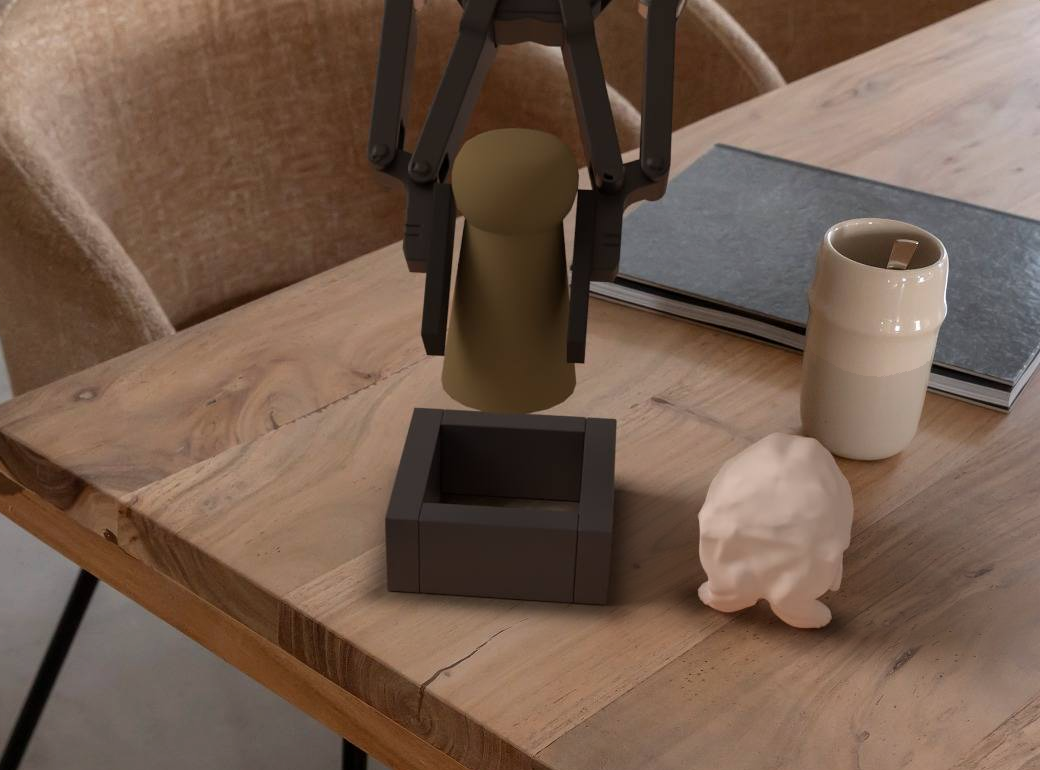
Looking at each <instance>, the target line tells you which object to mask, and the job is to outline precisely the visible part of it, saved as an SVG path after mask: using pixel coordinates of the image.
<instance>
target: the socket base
mask: <svg viewBox="0 0 1040 770" xmlns="http://www.w3.org/2000/svg"><path fill="white" fill-rule="evenodd" d="M617 422H618V421H617V419H616V418H607V417H591V416H588V417H586V416H575V415H574V416H573V415H559V414H558V415H556V414H555V415H554V414H540V413H539V414H537V413H529V414H508V415H506V414H497V413H488V412H483V411H480V410H467V409H466V410H465V409H449V408H448V409H446V408H445V409H444V408H432V407H431V408H430V407H427V408H426V407H414V408H413V411H412V415H411V417H410V421H409V427H408V430H407V434H406V438H405V441H404V444H403V449H402V452H401V457H400V460H399V464H398V467H397V470H396V471H397V472H396V474H395V479H394V482H393V486H392V490H391V494H390V498H389V501H388V505H387V509H386V513H385V516H384V532H385V535H384V536H385V567H386V569H385V570H386V590H387V591H390V592H404V593H423V594H425V593H426V594H437V595H450V596H451V595H452V596H469V597H481V598H496V599H511V600H527V601H540V602H554V603H555V602H557V603H572V604H573V603H574V604H587V605H603V606H604V605H605V606H606V605H607V602H608V591H609V590H608V589H609V578H610V565H611V552H612V541H613V524H614V502H615V501H614V500H615V499H614V497H615V478H616V477H615V476H616V475H615V474H616V448H617V425H618V423H617ZM441 493H442V494H456V495H470V496H471V495H472V496H474V495H475V496H489V497H504V498H505V497H506V498H520V499H522V498H523V499H539V500H555V501H571V502H572V501H573V502H579V508H578V511H569V510H568V511H567V510H552V509H535V508H534V509H533V508H519V507H502V506H489V505H486V506H485V505H472V504H457V503H456V504H455V503H441V502H440V500H441V499H440V498H441ZM439 502H440V503H439Z"/></svg>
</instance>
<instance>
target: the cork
mask: <svg viewBox="0 0 1040 770" xmlns="http://www.w3.org/2000/svg"><path fill="white" fill-rule="evenodd" d="M579 183H580V173H579V167H578V162H577V159H576V158H575V155H574V154H573V152H572V149H571V148H570V146H569V144H568V143H566V142H564V141H563V140H562V139H560V138H559V137H558V136H556V135H554V134H551V133H549V132H545V131H542V130H536V129H533V128H532V129H531V128H522V127H521V128H519V127H515V128H498V129H492V130H488V131H484V132H481V133H479V134H476V135H475V136H473V137H471V138H470V139H468V140H467V141H465V142H464V144H463V146H461V148H460V150H459V152H457V154H456V157H455V160H454V163H453V165H452V168H451V184H452V189H453V193H454V197H455V203H456V209H458V211H459V212H460V213H461V215H462V216H463V218H464V221H463V226H462V227H463V228H462V235H461V239H460V240H461V241H460V246H459V247H460V249H459V255H458V261H457V268H456V274H455V275H456V276H455V282H454V289H453V294H452V295H453V296H452V301H451V302H452V303H451V309H450V315H449V316H450V317H449V323H448V328H447V335H446V344H445V356H443V357H444V358H443V364H442V371H441V377H440V381H441V386H442V389H443V391H444V392H445V393H446V394H447V395H448V396H449V397H450V399H452V400H454V401H455V402H456V403H459V404H461V405H462V406H464V407H466V408H469V409H473V410H475V411H483V412H488V413H497V414H506V415H508V414H534V413H539V412H542V411H546V410H550V409H552V408H554V407H556V406H558V405H561V404H563V403H564V402H565V401H567V400H568V399H569V398H570V397H571V396H572V395H573V394H574V391H575V388H576V386H577V374H576V363H567V332H568V318H569V304H570V287H569V275H568V265H567V264H568V263H567V262H568V261H567V253H566V252H567V251H566V239H565V226H564V220H565V219H566V217H567V216H568V215H569V214H570V212H571V211H572V209H573V206H574V203H575V201H576V199H577V193H578V189H579V185H580V184H579Z"/></svg>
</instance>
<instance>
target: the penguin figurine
mask: <svg viewBox="0 0 1040 770" xmlns="http://www.w3.org/2000/svg"><path fill="white" fill-rule="evenodd" d="M704 500H705V501H704V503H703V505H702V506H701V508H700V511H699V512H698V514H697V519H698V521H699V523H698V524H699V546H698V553H699V554H698V555H699V560H700V565H701V567H702V569H703V571H704V572H705V574H706V576H707V579H708V580H707V581H704V582H702V584H701V585H700V586H699V587H698V589H697V595H698V597H699V600H700V601H701V602H702V603H703V604H704V605H706V606H709V607H710V608H711V609H713V610H716V611H719V612H723V613H735V612H738V611H741V610H744V609H746V608H750V607H754V606H755V605H757V602H758V600H759V599H763V600H766V601H767V602H768V603H769V605H770V609H771V611H772V612H773V614H774V615H776V616H777V617H778V618H779V619H780V620H781V621H783V623H785V624H787V625H789V626H791V627H795V628H799V629H820V628H822V627H826V626H827V625H828V624H829V623H830V622H831V620H832V619H833V618H832V613H831V612H832V611H831V610H830V608H829V607H828V606H827V605H826V604H825V603H823V602H821V600H818V598H820V597H821V596H822V595H824V594H826V592H828V590H829V591H831V592H837V591H839V590H840V588H841V584H842V579H843V567H844V566H843V560H844V559H843V558H844V551H845V550H847V549H849V547H850V544H851V531H852V525H853V520H854V512H855V511H854V508H855V507H854V499H853V494H852V489H851V485H850V482H849V481H848V479H847V477H846V476H845V475H844V473H843V472H842V471H841V469H840V467H839V466H838V464H837V463H836V460H835V458H834V456H833V454H832V453H831V452H830V451H829V450H828V449H827V448H826V447H825V446H823V444H822V443H821V442H820V441H819V440H817V439H816V438H813V437H805V436H801V435H798V434H788V433H784V432H781V431H776V432H771V433H769V434H768V435H765V436H764V437H763V438H761V439H759V440H758V441H756V442H754V443H752V444H751V445H749V446H747V447H746V448H745V449H743V450H741V451H739V452H738V453H736V454H735V455H734V456H731V457H730V458H728V459H727V460H726V461H725V462H724V464H722V466H721V467H720V469H719V470H718V472H717V473H716V474H715V476H714V477H713V479H712V481H711V483H710V485H709V488H708V490H707V492H706V496H705V499H704Z"/></svg>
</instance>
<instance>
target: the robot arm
mask: <svg viewBox="0 0 1040 770" xmlns="http://www.w3.org/2000/svg"><path fill="white" fill-rule="evenodd" d="M383 1H384V3H383V4H384V5H383V12H382V19H381V28H380V29H381V30H380V37H379V44H378V51H377V52H378V54H377V61H376V68H375V69H376V70H375V76H374V77H375V78H374V85H373V86H374V87H373V94H372V103H371V112H370V119H369V128H368V136H367V144H366V145H367V146H366V157H367V160H368V164H369V167H370V170H371V175H372V177H373V181H374V183H375V185H376V186H377V187H379V188H380V189H382V190H386V191H387V190H395V191H397V192H399V193H402V194H403V195H404V196H405V197H406V205H405V213H404V214H405V216H404V228H403V238H402V252H403V255H404V259H405V262H406V265H407V269H408V271H409V273H413V274H415V273H416V274H425V280H424V281H425V283H424V293H423V294H424V295H423V304H422V305H423V306H422V316H421V317H422V318H421V327H420V329H421V330H420V337H421V340H422V343H423V346H424V347H423V348H424V350H425V353H426V356H432V357H433V356H434V357H444V356H445V350H446V343H447V333H448V320H449V308H450V307H449V306H450V295H451V284H452V270H453V261H454V248H455V238H456V237H455V235H456V226H457V214H458V210H457V209H458V208H457V204H456V201H455V197H454V193H453V189H452V183H447V181H448V178H449V176H450V173H451V172H452V169H453V165H454V161H455V158H456V157H457V155H458V153H459V152H458V151H459V149H460V146H461V144H462V141H463V139H464V136H465V133H466V130H467V127H468V125H469V122H470V119H471V117H472V115H473V111H474V109H475V106H476V104H477V101H478V99H479V96H480V93H481V90H482V87H483V85H484V83H485V80H486V77H487V74H488V72H489V70H490V69H491V68H492V67H493V65H494V63H495V60H496V58H497V55H498V52H499V49H500V46H514V45H518V44H524V43H527V42H531V43H534V44H538V45H541V46H545V47H549V48H550V47H552V48H560V50H561V57H562V61H563V65H564V70H565V72H566V74H567V79H568V84H569V88H570V93H571V97H572V103H573V106H574V107H573V108H574V112H575V117H576V121H577V126H578V130H579V135H580V141H581V145H582V149H583V153H584V159H585V164H586V168H587V173H588V178H589V182H590V186H591V189H584V188H583V189H582V188H578V191H577V194H576V208H575V222H574V223H575V224H574V234H573V235H574V237H573V249H572V250H573V251H572V266H571V277H570V289H569V299H570V304H569V318H568V332H567V363H575V364H578V365H579V364H580V365H583V364H584V365H585V363H586V362H585V361H586V348H587V347H586V346H587V333H588V332H587V331H588V320H589V318H588V317H589V305H590V304H589V303H590V293H591V292H590V291H591V290H590V289H591V282H592V283H610V284H611V283H612V284H613V283H615V282H614V281H615V279H616V278H617V276H618V274H619V271H620V263H621V262H620V261H621V249H622V233H623V220H624V219H623V217H624V213H625V211H626V210H627V208H629V207H630V206H631V205H633V204H635V203H638V202H641V201H647V202H652V203H653V202H658V201H660V200H661V199H663V198H664V197H665V195H666V192H667V188H668V182H669V177H670V172H671V171H670V170H671V165H672V163H671V162H672V140H673V139H672V138H673V137H672V136H673V113H674V112H673V109H674V83H675V82H674V81H675V58H676V55H675V54H676V31H677V30H676V29H677V27H678V25H679V23H680V21H681V18H682V16H683V13H684V12H685V8H686V7H687V5H688V0H634V8H635V10H636V12H637V13H638V14H639V15H640V16H641V17H642V18H643V19H645V20H646V22H645V31H644V41H643V52H642V54H643V55H642V77H641V81H642V82H641V103H640V104H641V105H640V106H641V107H640V127H639V128H640V129H639V130H640V133H639V152H638V158H637V159H634V160H632V161H628V162H624V161H623V157H622V152H621V148H620V143H619V139H618V133H617V130H616V125H615V120H614V117H613V110H612V105H611V102H610V97H609V93H608V87H607V83H606V78H605V74H604V69H603V65H602V60H601V55H600V50H599V45H598V41H597V35H596V27H595V21H596V19H598V18H599V16H600V15H601V14H602V13H603V12H604V11H605V9H606V8H607V7H608V6H609V5H610V4H611V2H612V1H613V0H456V1H457V3H458V4H459V6H460V7H461V9H462V10H463V11H462V14H461V17H460V22H459V28H458V33H457V36H456V39H455V41H454V44H453V46H452V48H451V52H450V54H449V56H448V59H447V62H446V64H445V67H444V70H443V73H442V76H441V78H440V80H439V83H438V86H437V88H436V91H435V94H434V97H433V99H432V102H431V105H430V107H429V110H428V112H427V115H426V117H425V121H424V123H423V126H422V127H421V131H420V133H419V136H418V138H417V141H416V144H415V146H414V150H413V152H412V153H410V152H408V151H406V142H407V134H408V124H409V116H410V109H411V99H412V98H411V97H412V91H413V90H412V89H413V80H414V73H415V72H414V71H415V64H416V55H417V46H418V37H419V36H418V35H419V26H418V17H417V12H422V11H424V9H425V8H426V6H427V5H429V3H430V1H431V0H383Z"/></svg>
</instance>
